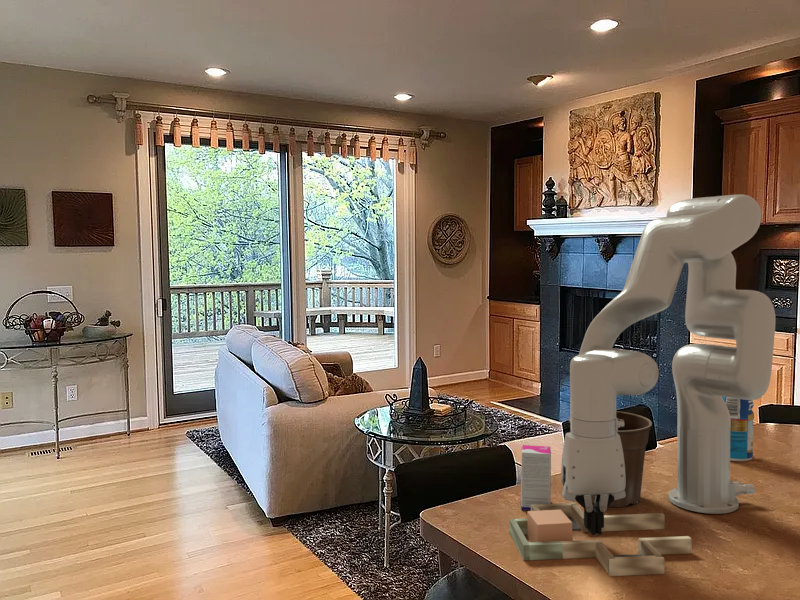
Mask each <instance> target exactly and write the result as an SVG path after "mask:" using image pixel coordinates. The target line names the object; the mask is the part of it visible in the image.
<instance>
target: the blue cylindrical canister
mask: <svg viewBox="0 0 800 600" xmlns="http://www.w3.org/2000/svg"><path fill="white" fill-rule="evenodd" d="M722 398H723V400H724V402H725V403H726V405H727V408H728V410H729V413H730V420H731V428H730V462H749V461H751V460H753V458H754V451H753V450H754V419H755V413H754V411H753V408H754V406H755V405H754V400H742V399H736V398H730V397H724V396H722Z"/></svg>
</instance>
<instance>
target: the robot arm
mask: <svg viewBox="0 0 800 600" xmlns="http://www.w3.org/2000/svg"><path fill="white" fill-rule="evenodd" d="M755 199H756V198H753V197H752V196H750V195H747V194H742V193H741V194H728V195H715V196H705V197H702V196H701V197H695V198H687V199H683V200H680V201H677V202H675V203H672V205H670V206H669V207H668V209H667V213H666V216H665V217H664V216H663V217H659V218H658V217H657V218H655V219H653V220H651V221H649V222H648V223H647V224H646V225H645V226H644V228H643V230H642V233H641V234H640V235H641V236H640V239H639V242H638V245H637V248H636V250H635V253H634V257H633V260H632V262H631V266H630V268H629V272H628V274H627V277H626V280H625V283H624V287H623V289H622V291H621V292H620V293H618V295H616V296H615V297H614V298H613V299H612V300H611V301H609V303H607V304H606V305H605V306H604V308H602V309H601V311H599V313H598V314H597V315H596V316H595V317H594V318H593V320H592V321H591V322H590V324H589V326H588V327H587V329H586V332H585V334H584V337H583V341H582V343H581V347H580V348H579V353H578V355H576V356H574V357H572V358H571V360H570V363H569V389H570V390H569V391H570V394H569V395H570V397H569V399H570V400H569V401H570V402H569V403H570V405H569V406H570V407H569V408H570V412H569V413H570V416H569V417H570V422H569V424H570V423H571V424H570V431H569V432H566V433H565V435H564V436H565V437H564V439H563V440H564V441H563V445H562V446H563V447H562V457H561V468H560V481H561V485H562V486H563V489H562V491H561V492H562V494H561V497H562V498H563V499H564V500H565V501H570V502H572V503H577V504H579V505H580V506H581V507H582V508H583V513H584V526H585V528H586V529H588V531H589V532H588V533H589V534H591V536H595V535H597V536H601V535H602V534H603V533H602V532H603V531H602V528H604V515H605V512H606V511H607V509H608V508H609V507H608V506H609V505H610V504H611V503H612V502H613V500H618V499H621V498H624V497H625V496H626V494H625V486H626V474H625V462H624V454H623V448H622V443H621V439H620V435H619V434H618V433H617V430H618V428H620V427H624V420H623V419H621V420H619V419H617V417H616V411H617V397H618V396H638V395H644V394H646V393H649V391H651V390H652V389H653V388H654V387H655V386H656V384H657V382H658V380H659V375H660V374H659V367H658V364H657V362H656V360H655V359H654V358H652V357H651V355H648V354H646V353H644V352H640V351H635V350H627V349H622V348H613V347H614V344H615V342H616V340H617V338H618V337H619V336H620V335H621V333H623V332H624V331H625V330H626V329H627V328H629V327H630V326H631V325H633V324H636V323H637V322H639V321H641V320H644V319H645V318H648V317H651V316H654V315H655V314H658V313H660V312H662V311H665V310H666V309H668V308H669V307H670V306H671V304H672V302H673V298H674V295H675V292H676V289H677V285H678V283H679V279H680V276H681V274H682V271H683V268H684V265H685V264H687V266H688V275H687V276H688V277H687V287H686V288H687V289H686V298H685V309H684V313H685V314H684V319H685V320H684V321H685V326H686V329H687V330H688V331H689V332H690V333H692V334H693V335H696V336H699V337H704V338H712V339H721V340H722V339H723V340H731V341H732V340H734V341H735V342H736V343H735V345H736V346H735V347H734V346H726V345H725V346H724V345H719V344H718V345H717V344H709V343H691V344H686V345H684V346H681V348H679V349H678V350H677V351H676V352H675V354H673V355H674V356H673V357H672V358H673V359H672V363H671V368H672V369H671V372H672V377H673V382H674V387H675V393H676V403H677V407H676V408H677V423H676V424H677V428H676V429H677V431H676V433H677V439H676V440H677V441H676V443H677V445H676V446H677V447H676V451H677V456H676V457H677V458H676V460H677V461H676V462H677V463H676V464H677V465H676V466H677V467H676V470H677V471H676V474H677V475H676V479H677V480H676V481H677V482H676V487H674V488H672V489H671V490H670V491H669V492H668V499H669V501H670V502H671V503H672V504H673V505H674V506H677V507H679V508H680V509H681V508H682V509H685V510H687V511H691V512H696V513H700V514H701V513H702V514H711V515H714V514H715V515H717V514H719V515H720V514H722V515H723V514H729V513H732V512H735V511H736V510H738V509H739V507H740V506H739V503H740V501H739V499H738V497H739V496H740V495H755V493H756V488H755V485H754V484H753V483H746V484H745V483H743V484H742V483H741V482H740V481H739V480H738V481H732V480H731V461H730V428H731V420H730V413H729V410H728V408H727V405H726V403H725V402H724V400H723V398H722V396H724V397H730V398H736V399H742V400H753V401H755V400H758V399H759V400H760V399H761V398H762V397H763V396H764V395H765V394H766V393H767V391H768V389H769V387H770V382H771V377H772V369H773V368H772V367H773V359H774V346H775V334H776V321H777V320H776V313H775V307H774V305H773V302H772V299H770V297H769V296H767V294H765V293H763V292H760V291H758V290H753V289H737V288H736V281H737V263H736V259H735V258H734V255H733V254H732V252H733V251H734V250H736V249H737V248H739V247H740V246H743V245H744V244H746V243H747V242H748V241H750V239H752V238H753V237H754V236H755V234H757V232H758V229H760V225H761V222H762V209H761V207H760V205H759V203H758V202H757V200H755ZM591 495H596V496H595V504H593V503H592V499H591Z"/></svg>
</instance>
